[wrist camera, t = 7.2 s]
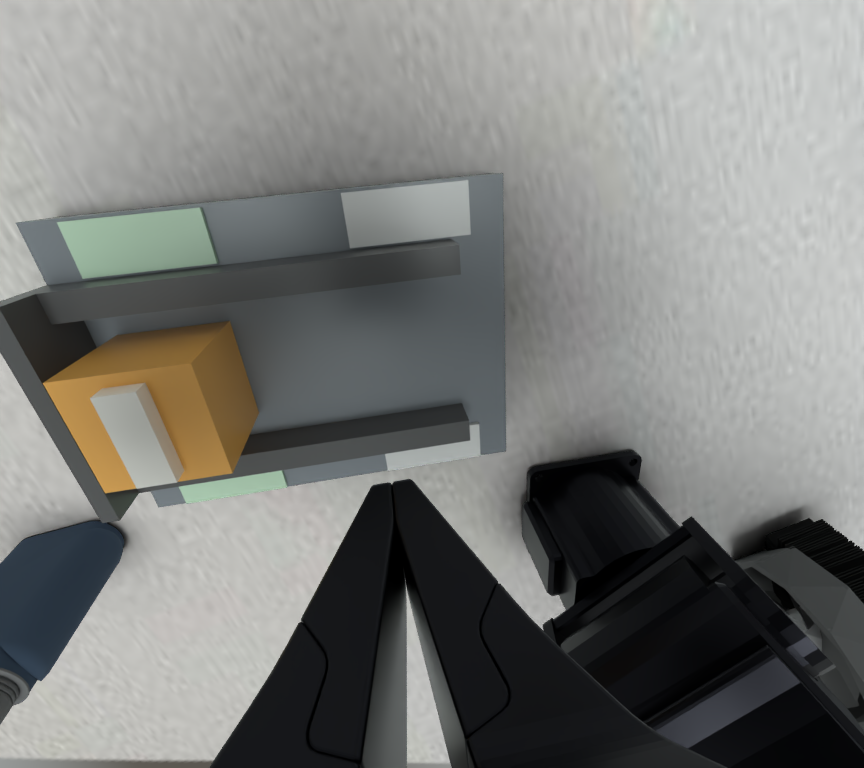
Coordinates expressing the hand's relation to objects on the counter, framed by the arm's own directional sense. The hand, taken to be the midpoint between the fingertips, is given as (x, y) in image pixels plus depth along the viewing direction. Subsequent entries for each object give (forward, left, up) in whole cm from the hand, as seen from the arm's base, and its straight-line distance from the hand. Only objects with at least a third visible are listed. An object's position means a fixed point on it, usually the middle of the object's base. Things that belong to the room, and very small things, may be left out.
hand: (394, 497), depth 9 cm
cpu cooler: (-25, +21, -11) cm, 35 cm away
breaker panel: (+3, 0, -11) cm, 11 cm away
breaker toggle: (+7, 0, -9) cm, 12 cm away
